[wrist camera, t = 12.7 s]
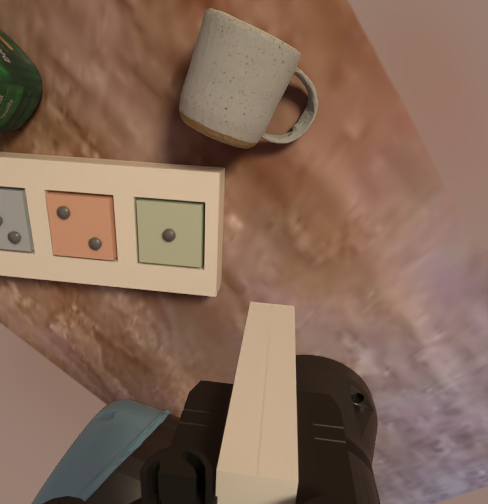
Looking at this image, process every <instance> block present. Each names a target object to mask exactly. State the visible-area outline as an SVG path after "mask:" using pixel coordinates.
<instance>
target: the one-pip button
mask: <svg viewBox="0 0 488 504" xmlns="http://www.w3.org/2000/svg"><path fill="white" fill-rule="evenodd" d="M136 202H137V222H138V243H139V262H146V263H157V264H168V265H179V266H189V267H200V268H201V267H202V265H203V263H204V260H205V202H196V201H183V200H170V199H157V198H145V197H141V198H140V199H138V200H136Z"/></svg>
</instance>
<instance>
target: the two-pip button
mask: <svg viewBox="0 0 488 504" xmlns="http://www.w3.org/2000/svg"><path fill="white" fill-rule="evenodd" d="M46 201H47V208H48V215H49V223H50V230H51V238H52V245H53V253H54V255H61V256H72V257H82V258H93V259H104V260H114V259H115V258H117V257H118V254H117V240H116V226H115V212H114V198H113V195H106V194H94V193H81V192H68V191H52V192H50V193H47V194H46Z"/></svg>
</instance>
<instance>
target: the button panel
mask: <svg viewBox="0 0 488 504" xmlns="http://www.w3.org/2000/svg"><path fill="white" fill-rule="evenodd" d="M0 186H4V187H17V188H25V192H26V199H27V205H28V212H29V218H30V225H31V231H32V238H33V244H34V250H33V251H31V252H28V251H18V250H7V249H0V275H2V276H12V277H22V278H32V279H42V280H52V281H62V282H72V283H82V284H92V285H102V286H112V287H123V288H133V289H143V290H153V291H163V292H173V293H183V294H193V295H203V296H213V297H216V296H217V293H218V290H219V288H220V285H221V274H222V244H223V215H224V186H225V168H224V167H210V166H196V165H181V164H167V163H153V162H139V161H124V160H110V159H96V158H82V157H68V156H53V155H39V154H25V153H11V152H0ZM52 191H68V192H81V193H94V194H106V195H113V198H114V212H115V226H116V240H117V254H118V257H117V258H115V259H114V260H104V259H93V258H82V257H72V256H61V255H54V253H53V245H52V238H51V230H50V223H49V215H48V208H47V201H46V194H47V193H50V192H52ZM141 197H145V198H157V199H170V200H183V201H196V202H205V260H204V263H203V265H202V267H201V268H200V267H189V266H179V265H168V264H157V263H146V262H139V243H138V222H137V202H136V200H138V199H140V198H141Z"/></svg>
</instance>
